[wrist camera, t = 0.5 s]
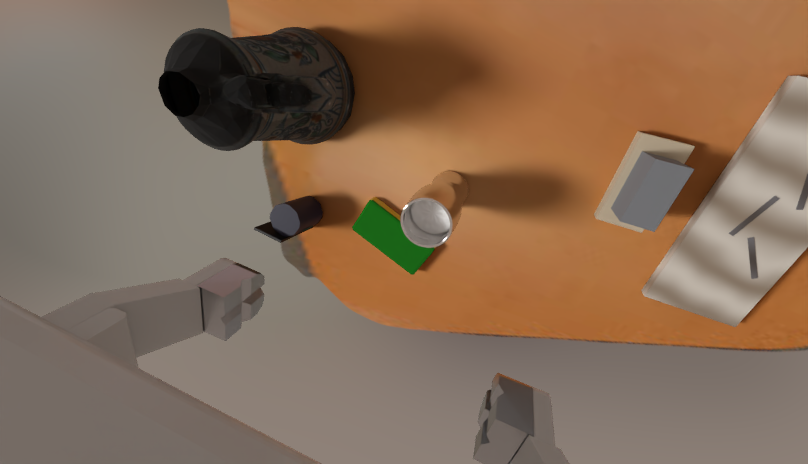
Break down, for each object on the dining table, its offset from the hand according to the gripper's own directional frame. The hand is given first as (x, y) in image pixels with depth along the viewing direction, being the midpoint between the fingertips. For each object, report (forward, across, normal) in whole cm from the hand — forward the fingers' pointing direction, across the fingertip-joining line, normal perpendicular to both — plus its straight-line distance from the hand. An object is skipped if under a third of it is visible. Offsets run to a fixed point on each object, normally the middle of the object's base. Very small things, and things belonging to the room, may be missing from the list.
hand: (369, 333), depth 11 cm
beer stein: (+44, +28, 0) cm, 52 cm away
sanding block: (+44, -20, 0) cm, 49 cm away
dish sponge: (+44, +10, +20) cm, 50 cm away
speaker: (+44, +28, +22) cm, 57 cm away
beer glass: (+44, +4, +9) cm, 45 cm away
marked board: (+44, -34, 0) cm, 56 cm away
